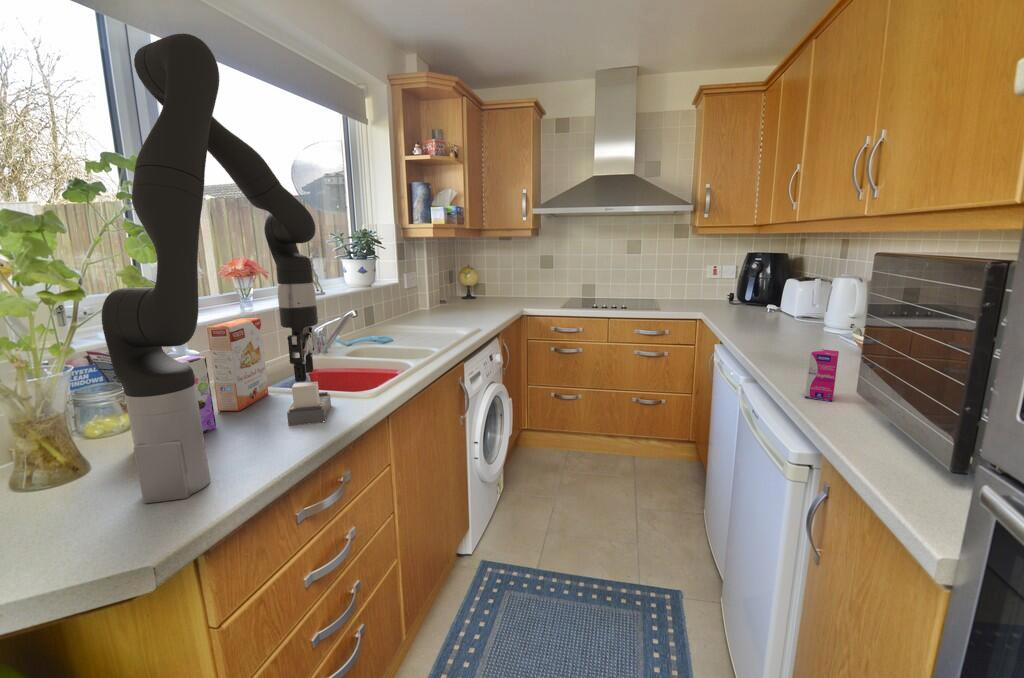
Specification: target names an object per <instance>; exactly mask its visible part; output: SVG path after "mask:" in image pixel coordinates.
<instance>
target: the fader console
mask: <svg viewBox="0 0 1024 678" xmlns="http://www.w3.org/2000/svg"><path fill="white" fill-rule="evenodd" d="M319 398H320V403H319V406H313V407H302V408H294V403H293V402H292V404H291V406H290V407H289V409H288V410H287V412H286V416H287V417H286V418H287V424H288V425H287V426H289V427H290V426H299V424H300V425H307V424H308V423H310V424H318V423H317V422H321V423H324V422H323V421H325V422H326V420H325V419H327V418H328V415H329V412H330V410H331V407H332V400H331V394H330V393H329V392H328V391H323V392H319ZM329 409H330V410H329ZM327 414H328V415H327ZM326 417H327V418H326ZM308 425H309V424H308Z"/></svg>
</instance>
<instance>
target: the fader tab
mask: <svg viewBox="0 0 1024 678" xmlns="http://www.w3.org/2000/svg"><path fill="white" fill-rule="evenodd" d="M319 389H320V388H319V382H318V381H305V382H295V383H294V384H293V385H292V386H291V393H292V404H293V403H294V408H302V407H313V406H319V403H320V398H319V393H320V390H319Z"/></svg>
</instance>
